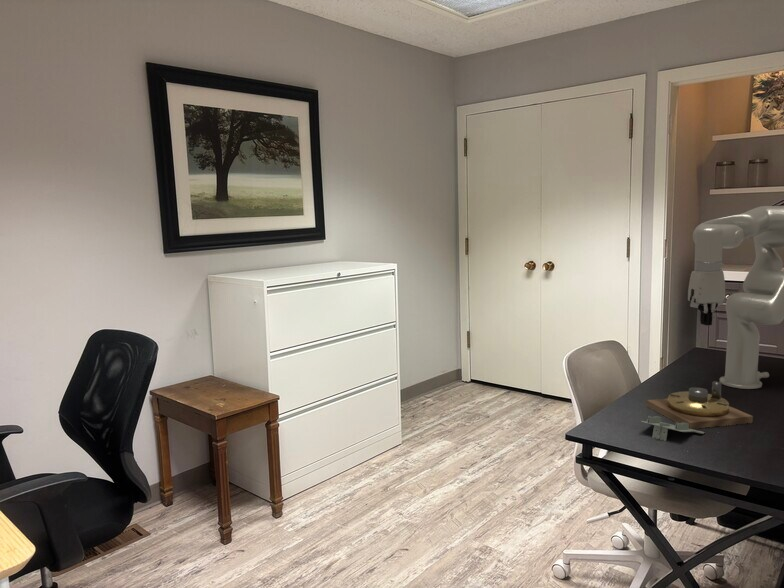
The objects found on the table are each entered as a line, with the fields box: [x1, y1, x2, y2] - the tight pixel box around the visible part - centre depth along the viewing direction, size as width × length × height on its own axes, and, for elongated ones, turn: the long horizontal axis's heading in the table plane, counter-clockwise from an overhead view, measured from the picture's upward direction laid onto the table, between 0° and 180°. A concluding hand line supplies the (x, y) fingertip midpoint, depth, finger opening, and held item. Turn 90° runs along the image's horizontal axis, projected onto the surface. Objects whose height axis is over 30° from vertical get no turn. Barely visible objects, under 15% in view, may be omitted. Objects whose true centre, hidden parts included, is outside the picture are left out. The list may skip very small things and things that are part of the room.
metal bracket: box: [640, 415, 706, 442], centre depth 165 cm, size 14×6×15 cm
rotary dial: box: [667, 380, 730, 416], centre depth 177 cm, size 16×16×7 cm
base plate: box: [645, 397, 754, 430], centre depth 178 cm, size 20×20×2 cm
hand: (706, 324), depth 189 cm, fingers closed
